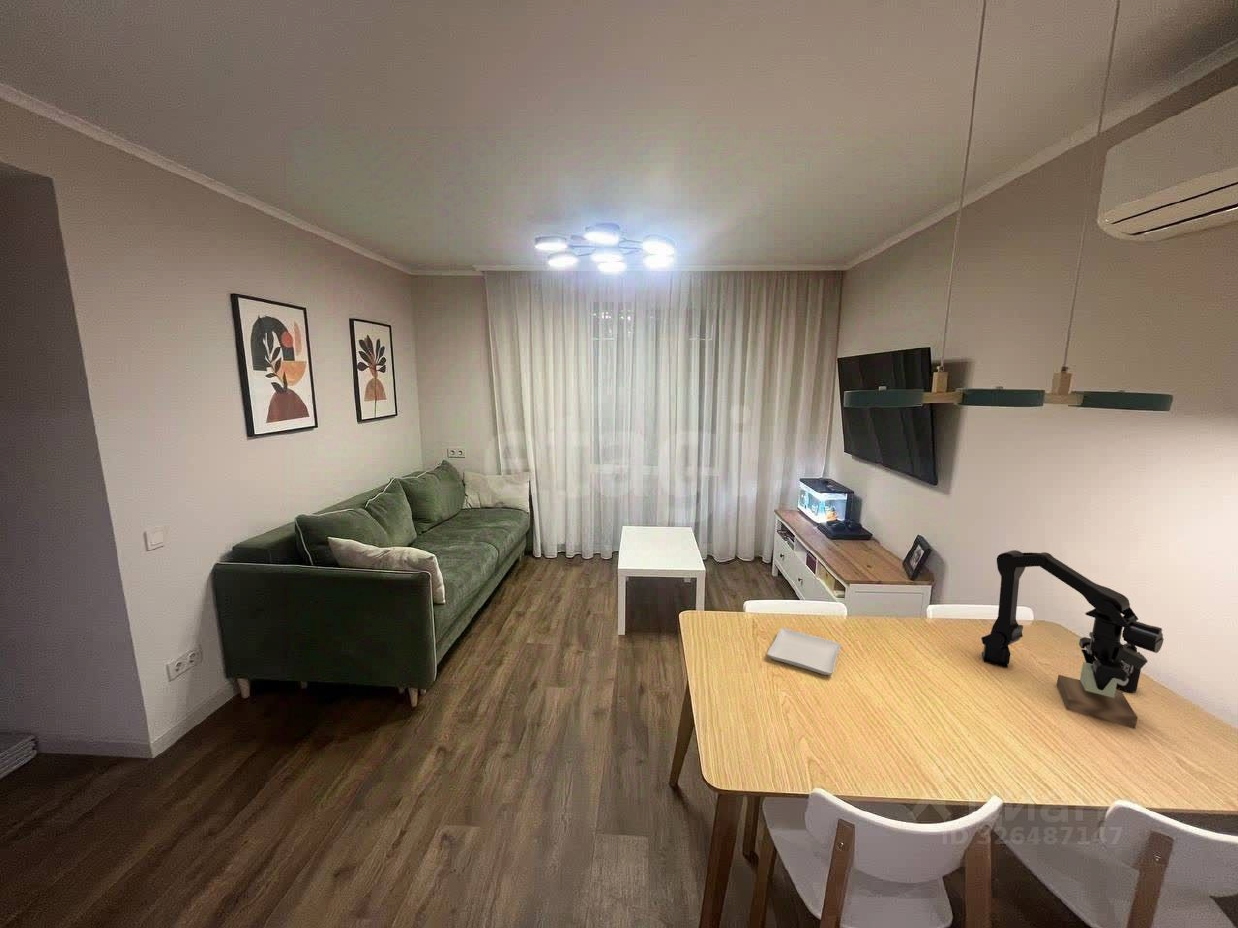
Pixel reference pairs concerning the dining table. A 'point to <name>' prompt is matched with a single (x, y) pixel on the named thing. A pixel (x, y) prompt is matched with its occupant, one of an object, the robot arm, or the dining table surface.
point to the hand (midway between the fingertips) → (1096, 683)
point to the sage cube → (1090, 683)
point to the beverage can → (1128, 678)
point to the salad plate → (805, 651)
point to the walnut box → (1096, 703)
